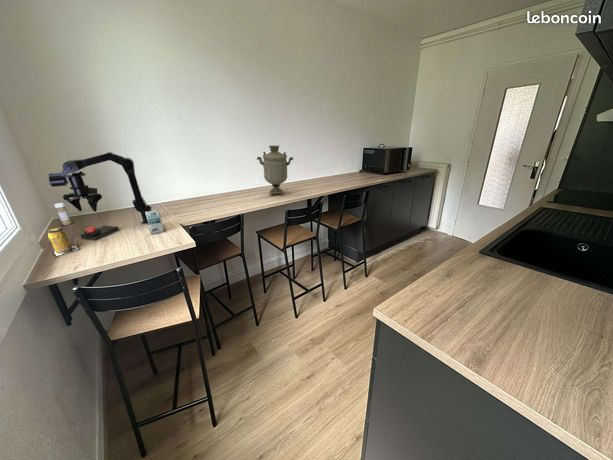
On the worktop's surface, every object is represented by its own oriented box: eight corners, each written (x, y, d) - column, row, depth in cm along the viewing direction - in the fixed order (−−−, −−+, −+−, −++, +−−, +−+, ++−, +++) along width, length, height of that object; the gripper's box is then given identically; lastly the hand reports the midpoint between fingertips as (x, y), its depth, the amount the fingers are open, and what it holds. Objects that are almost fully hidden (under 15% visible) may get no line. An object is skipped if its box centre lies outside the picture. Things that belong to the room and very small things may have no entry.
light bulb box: (164, 231, 146) (160, 214, 142) (151, 234, 143) (146, 216, 138) (162, 225, 154) (157, 209, 150) (149, 228, 151) (144, 211, 146)
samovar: (298, 190, 229) (297, 144, 213) (290, 198, 206) (288, 147, 190) (267, 188, 236) (264, 143, 219) (256, 196, 212) (251, 146, 196)
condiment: (54, 251, 125) (43, 229, 120) (75, 245, 131) (66, 224, 126) (56, 256, 121) (45, 233, 116) (79, 249, 127) (69, 228, 122)
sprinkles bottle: (73, 222, 161) (64, 202, 155) (70, 224, 157) (62, 204, 152) (64, 223, 159) (55, 203, 154) (61, 225, 155) (52, 205, 150)
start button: (98, 230, 140) (96, 227, 139) (91, 233, 136) (89, 229, 135) (92, 229, 141) (91, 226, 140) (85, 232, 137) (83, 229, 136)
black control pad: (119, 230, 149) (116, 224, 147) (95, 240, 136) (92, 234, 134) (105, 228, 151) (103, 222, 149) (80, 239, 138) (78, 232, 136)
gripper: (105, 181, 144) (114, 207, 150) (76, 180, 145) (86, 206, 152) (88, 186, 133) (98, 213, 140) (57, 185, 135) (68, 212, 142)
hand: (88, 211), depth 143 cm, fingers open, 9 cm apart
